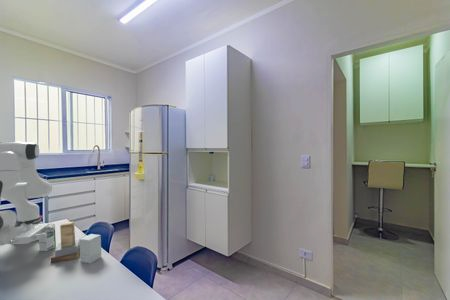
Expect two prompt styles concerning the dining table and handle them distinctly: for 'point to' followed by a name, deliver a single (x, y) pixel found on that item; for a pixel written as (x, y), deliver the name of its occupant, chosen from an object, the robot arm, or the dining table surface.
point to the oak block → (67, 234)
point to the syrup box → (48, 240)
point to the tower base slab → (65, 257)
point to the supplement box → (90, 248)
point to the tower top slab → (67, 249)
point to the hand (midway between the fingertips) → (50, 231)
